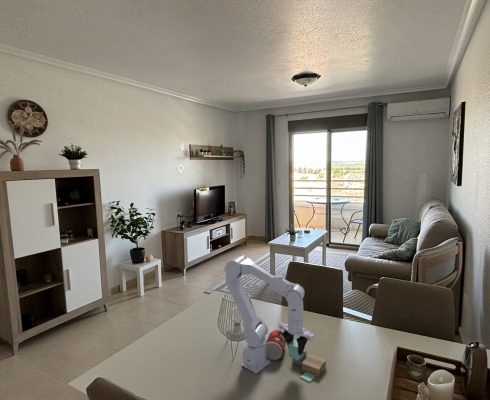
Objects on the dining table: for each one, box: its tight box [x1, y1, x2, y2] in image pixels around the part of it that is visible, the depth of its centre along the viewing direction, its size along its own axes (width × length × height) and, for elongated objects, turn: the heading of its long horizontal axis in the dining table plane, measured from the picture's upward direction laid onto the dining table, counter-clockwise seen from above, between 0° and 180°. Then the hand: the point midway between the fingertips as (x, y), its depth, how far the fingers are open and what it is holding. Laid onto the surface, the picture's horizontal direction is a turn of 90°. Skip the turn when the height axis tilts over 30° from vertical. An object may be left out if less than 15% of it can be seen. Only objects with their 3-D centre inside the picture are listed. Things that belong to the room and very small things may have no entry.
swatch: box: [300, 372, 316, 383], centre depth 119 cm, size 4×4×1 cm
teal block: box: [288, 338, 303, 360], centre depth 121 cm, size 4×4×5 cm
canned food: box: [266, 329, 287, 361], centre depth 135 cm, size 8×8×11 cm
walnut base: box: [301, 353, 327, 378], centre depth 123 cm, size 7×7×4 cm
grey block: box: [291, 348, 307, 367], centre depth 128 cm, size 4×4×5 cm
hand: (295, 351), depth 121 cm, fingers closed on teal block, 4 cm apart
